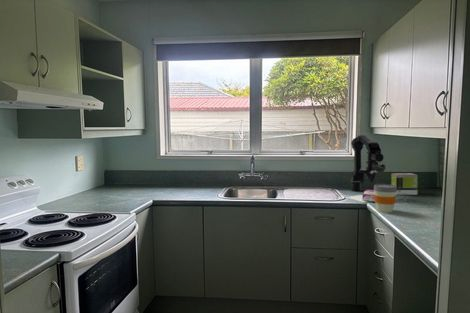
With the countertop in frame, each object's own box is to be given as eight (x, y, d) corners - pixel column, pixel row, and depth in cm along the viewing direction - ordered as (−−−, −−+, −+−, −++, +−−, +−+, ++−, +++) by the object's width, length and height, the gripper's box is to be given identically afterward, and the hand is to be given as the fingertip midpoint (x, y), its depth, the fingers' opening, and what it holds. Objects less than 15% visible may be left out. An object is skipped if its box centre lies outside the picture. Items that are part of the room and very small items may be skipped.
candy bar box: (382, 190, 229) (380, 195, 214) (382, 197, 229) (380, 202, 215) (365, 189, 234) (362, 193, 219) (365, 195, 234) (362, 200, 220)
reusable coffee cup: (376, 207, 205) (377, 183, 204) (398, 210, 197) (399, 185, 196) (370, 211, 195) (370, 186, 194) (393, 214, 188) (394, 188, 186)
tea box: (411, 192, 249) (412, 172, 247) (417, 195, 239) (418, 174, 237) (390, 192, 250) (391, 172, 249) (395, 195, 240) (396, 174, 239)
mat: (360, 195, 239) (360, 194, 239) (379, 199, 225) (379, 199, 225) (344, 198, 231) (344, 197, 231) (363, 202, 217) (363, 201, 217)
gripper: (373, 162, 218) (372, 185, 220) (391, 160, 228) (390, 183, 229) (359, 160, 228) (358, 183, 229) (377, 159, 237) (376, 180, 239)
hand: (371, 182), depth 231 cm, fingers closed
